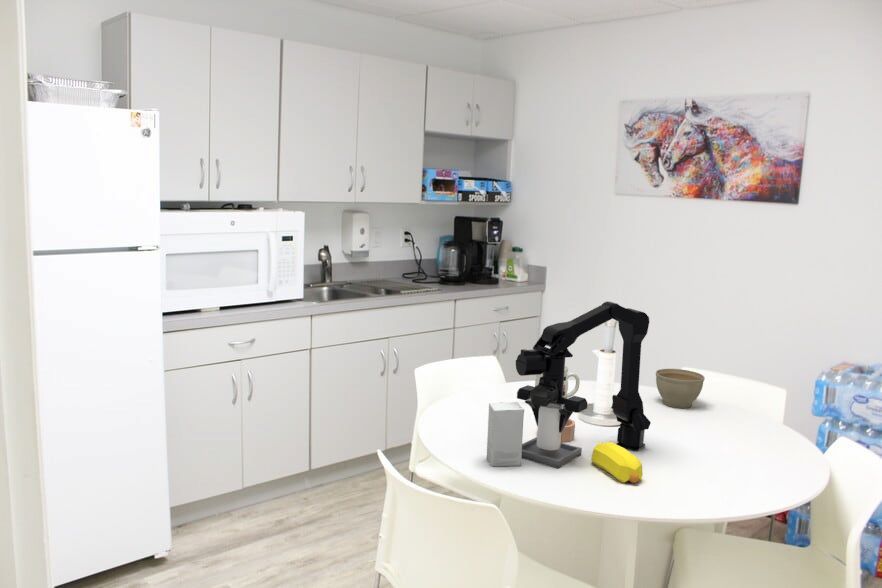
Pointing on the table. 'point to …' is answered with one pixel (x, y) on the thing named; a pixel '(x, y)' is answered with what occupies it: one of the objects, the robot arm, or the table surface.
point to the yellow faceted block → (617, 462)
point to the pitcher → (565, 384)
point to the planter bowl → (679, 386)
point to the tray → (550, 454)
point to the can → (549, 427)
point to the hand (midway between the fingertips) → (549, 429)
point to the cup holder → (568, 431)
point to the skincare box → (505, 434)
